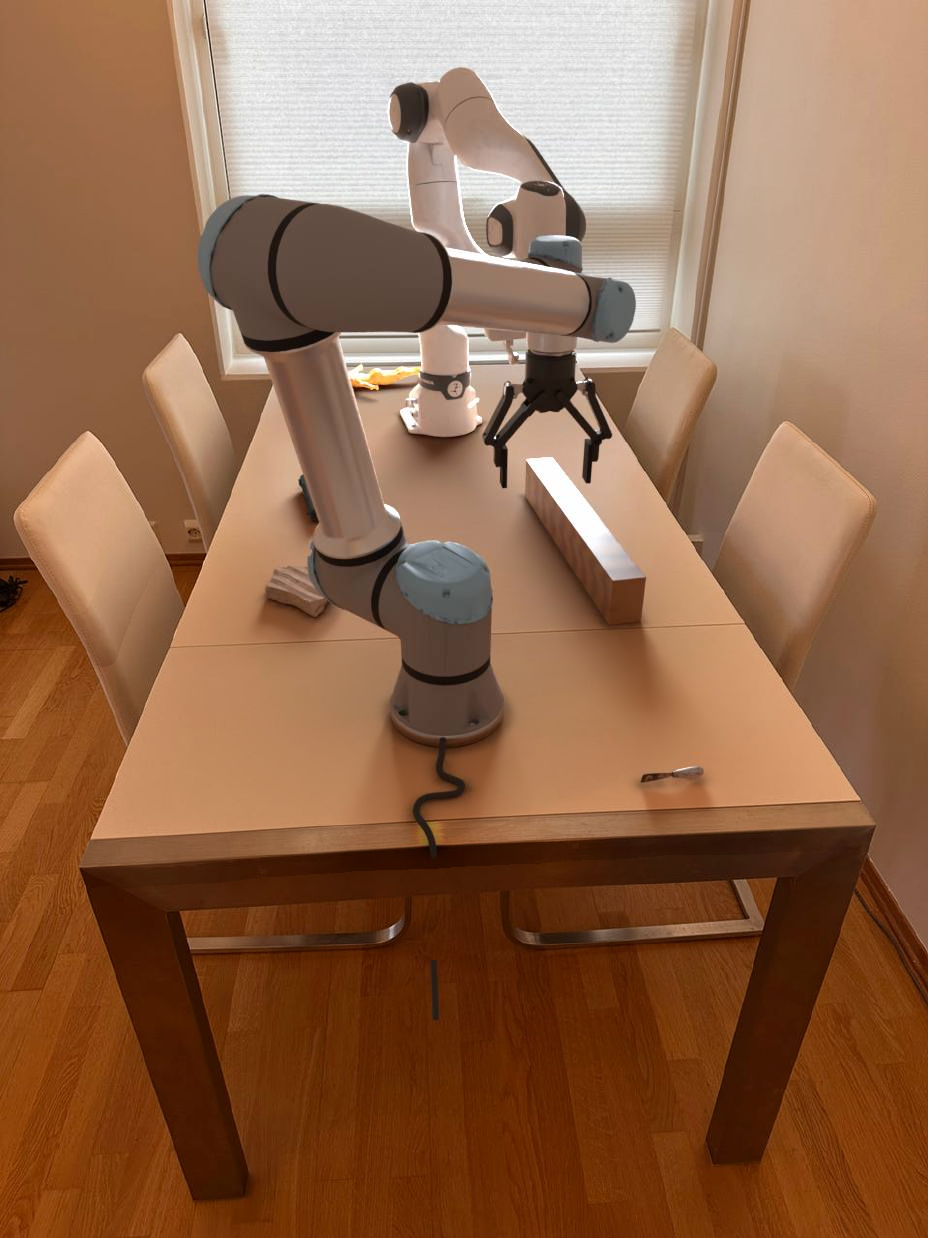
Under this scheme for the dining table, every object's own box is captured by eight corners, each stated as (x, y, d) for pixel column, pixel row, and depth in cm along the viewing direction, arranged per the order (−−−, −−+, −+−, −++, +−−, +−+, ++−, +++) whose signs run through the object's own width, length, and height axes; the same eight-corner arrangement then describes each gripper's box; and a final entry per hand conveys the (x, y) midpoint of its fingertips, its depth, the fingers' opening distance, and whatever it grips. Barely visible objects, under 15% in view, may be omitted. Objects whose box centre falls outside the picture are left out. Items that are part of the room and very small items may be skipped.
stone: (354, 583, 150) (352, 570, 149) (317, 618, 141) (316, 605, 140) (288, 570, 155) (286, 557, 153) (249, 603, 145) (246, 590, 144)
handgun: (369, 516, 174) (308, 523, 171) (354, 480, 188) (297, 486, 185) (368, 501, 172) (306, 508, 169) (353, 466, 186) (295, 472, 183)
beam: (641, 621, 140) (646, 577, 136) (608, 625, 140) (612, 580, 135) (550, 493, 182) (552, 457, 178) (524, 496, 181) (525, 459, 177)
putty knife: (703, 777, 109) (705, 767, 109) (642, 788, 108) (644, 777, 107) (700, 772, 110) (702, 762, 109) (639, 782, 109) (640, 771, 108)
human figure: (326, 388, 241) (325, 373, 239) (370, 367, 255) (369, 353, 253) (385, 401, 233) (384, 386, 231) (427, 379, 247) (427, 365, 245)
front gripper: (626, 339, 137) (614, 469, 148) (464, 345, 134) (465, 477, 145) (640, 352, 130) (627, 487, 142) (471, 360, 128) (471, 496, 139)
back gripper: (586, 276, 164) (583, 352, 171) (480, 284, 159) (481, 362, 166) (600, 281, 159) (596, 360, 166) (490, 289, 154) (491, 370, 161)
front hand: (545, 482), depth 143 cm, fingers open, 13 cm apart
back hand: (537, 361), depth 166 cm, fingers open, 8 cm apart
